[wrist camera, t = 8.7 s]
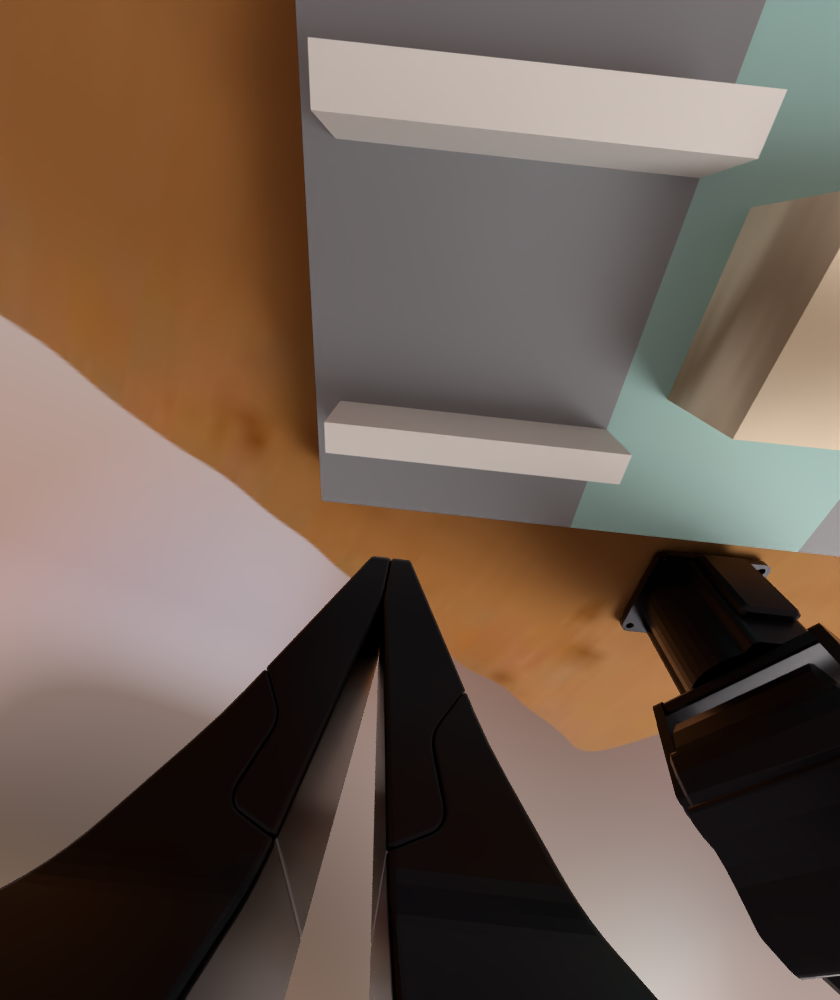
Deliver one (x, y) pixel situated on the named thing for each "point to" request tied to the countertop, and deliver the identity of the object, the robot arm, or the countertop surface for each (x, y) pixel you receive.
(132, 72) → the countertop surface
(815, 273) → the beech block
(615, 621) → the countertop surface
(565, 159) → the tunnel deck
